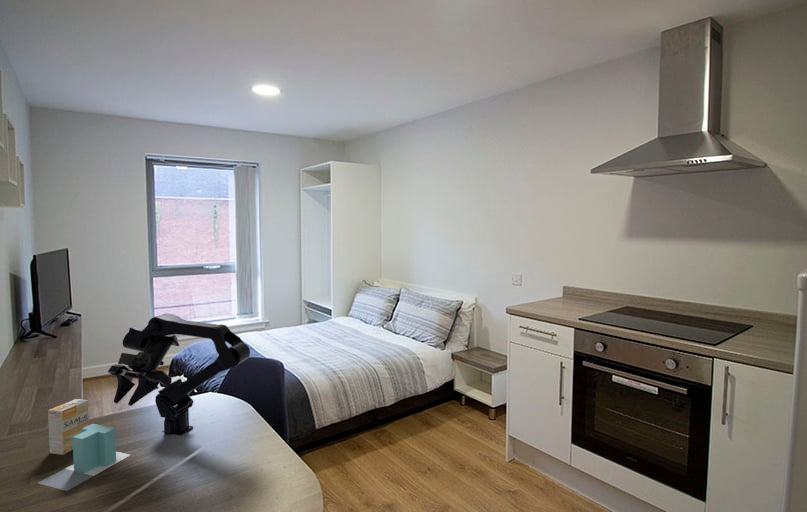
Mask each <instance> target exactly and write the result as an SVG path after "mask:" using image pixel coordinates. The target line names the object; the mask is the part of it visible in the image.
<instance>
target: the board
mask: <svg viewBox="0 0 807 512" xmlns="http://www.w3.org/2000/svg"><path fill="white" fill-rule="evenodd" d="M130 456H131V454H128V453H124V452H121V451H116V461H115V462H113V463H111V464H110V465H108V466H106V467H105V466H101V465H99V466H97V467H95V468H93V469H91V470H89V471H88V472H86V473H80V472H76V471H74V463H73V464H71V465H69V466H67V467H65V468H63V469H62V470H60V471H58V472H56V473H53V475H50V476H48V477H46V478H44V479H42V480H41V481H39V482H37V484H40V485H43V486H46V487H51V488H54V489H57V490H62V491H64V492H65V491H66V492H68V491H69V490H72V489H73V488H75V487H76V486H78V485H80V484H82V483H84V482H85V481H87V480H89V479H91V478H93V477H94V476H96V475H98V474H99V473H101V472H103V471H105V470H107V469H108V468H110V467H112V466H114V465H116V464H118V463H119V462H121V461H123V460H125V459H126V458H128V457H130Z"/></svg>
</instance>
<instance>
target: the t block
mask: <svg viewBox="0 0 807 512" xmlns="http://www.w3.org/2000/svg"><path fill="white" fill-rule="evenodd" d="M72 439H73V450H72V456H73V457H72V458H73V459H72V460H73V464H74V471H76V472H80V473H86V472H88V471H89V470H91V469H93V468H95V467H97V466H99V465H101V466H105V467H106V466H108V465H110V464H111V463H113V462H115V461H116V452H117V443H116V441H117V440H116V427H112V426H106V425H103V424H102V425H101V424H97V423H90V424H89V426H86V427H84V428H82V433H80V434H78V435H76V436H73V437H72Z"/></svg>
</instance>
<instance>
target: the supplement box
mask: <svg viewBox="0 0 807 512" xmlns="http://www.w3.org/2000/svg"><path fill="white" fill-rule="evenodd" d="M47 414H48V415H47V416H48V417H47V418H48V420H47V421H48V442H49V443H48V444H49V454H55V455H61V456H63V455H66V454H67V453H70V452H71V451H73V439H72V437H73V436H76V435H78V434H80V433H82V428H84V427H86V426H89V425H90V423H89V419H90V418H89V400H88V399H82V398H81V399H79V398H74V399H73V400H69V401H67V402H65V403H62V404H59V405H57V406H55V407H52V408H49V409H48V410H47Z"/></svg>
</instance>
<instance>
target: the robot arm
mask: <svg viewBox="0 0 807 512" xmlns="http://www.w3.org/2000/svg"><path fill="white" fill-rule="evenodd" d="M176 335H181V336H188V337H194V338H200V339H201V338H202V339H209V340H210V341H212V342H213V345H214V348H215V351H216V353H217V354H218V355H217V357H216V359H215V360H214V361H213V362H212V363H210V364H209V365H207V366H206V367H204V368H203V369H201V370H200V371H198V372H196V373H195V374H193V375H192V376H190V377H188V379H186V380H184V381H183V379H181V377H180V378H179V379H177V380H174V381H173V380H172V377H171V376H170V375H168V373H166V372H164V371H163V370H158V368H159V367H160V366H161V367H162V366H164V364H165V362H164V361H163V360H164V358H165V357H166V355H167V353H168V352H169V350H170V348H171V347H172V346H175V347H180V343H179V341H178V337H177V336H176ZM227 344H229V345H230V346H228V345H227ZM122 347H123V348H124V349H128V350H132V351H135V352H138V353H137V354H133V353H125V352H121V354H120V357H119V359H118V361H117V364H113V365H111V366H110V367H109V369H108V370H107V373H108V374H110V375H111V376H113V377H115V378H116V380H117V387H116V391H115V395H114V399H113V403H114V404H118V403H120V401H121V400H123V398H124V397H126V395H127V394H128V393H129V392H130V391H131V389H133V387H135V386H136V383H134V382H133V379H136V380H137V379H138V382H137V387H136V388H135V390H134V392H133V394H132V396H131V397H130V398H129V401H128V402H127V405H128V406H129V407H132V406H133V405H134V404H136V403H137V402H139V401H140V400H141V399H143V398H144V397H146V396H147V395H149V394H150V393H152V392H154V391H155V390H158V389H159V388H160V387H161V388H162V389H160V390H158V391H157V393H158V394H157V395H155V400H154V401H155V402H154V403H155V405H156V407H157V411H158V413H159V416H160V417H161V418H164V420H163V428H164V429H163V431H161V432H162V433H164V435H168V436H172V435H176V436H182V435H184V434H185V433H187V432H189V431H191V430H192V429H194V426H193V425H190V416H189V415H190V413H189V409H190V408H192V407H193V405H194V399H192V397H191V396H190V395H191V393H192V391H194V390H195V389H197V388H198V387H200V386H201V385H203V384H204V383H206V382H208V381H209V380H210V379H212V378H213V377H215V376H217V375H218V374H219V373H221V372H225V371H227V370H230V369H232V368H235V367H237V366H239V365H240V364H241V363H243V362H245V361H246V360H248V359H249V358H250V356H251V349H250V347H249V346H248V344H246V343H245V342H244V340H243V339H241V337H240V336H239V335H237V334H235V333H234V332H233V331H231V329H230V328H229V327H228V326H227V325H225V324H222V323H221V324H216V323H208V322H202V321H195V320H188V319H187V320H185V319H183V318H181V317H180V316H178V315H176V314H172V313H164V314H161V315H158V316H157V315H156V316H154V317H151V318H150V319H149V320H148V322H147V325H146V326H145V327H144V328H140V327H138V326H132V327H130V328H129V330H128V332H127V333H126V334H125V335H124V338H123V339H122ZM158 385H159V386H158Z"/></svg>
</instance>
